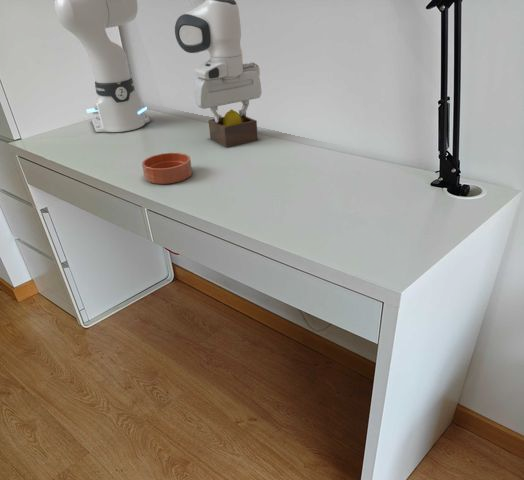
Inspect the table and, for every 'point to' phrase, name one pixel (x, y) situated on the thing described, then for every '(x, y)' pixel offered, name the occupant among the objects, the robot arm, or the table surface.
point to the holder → (233, 132)
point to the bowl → (167, 168)
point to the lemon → (231, 118)
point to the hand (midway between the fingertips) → (230, 119)
